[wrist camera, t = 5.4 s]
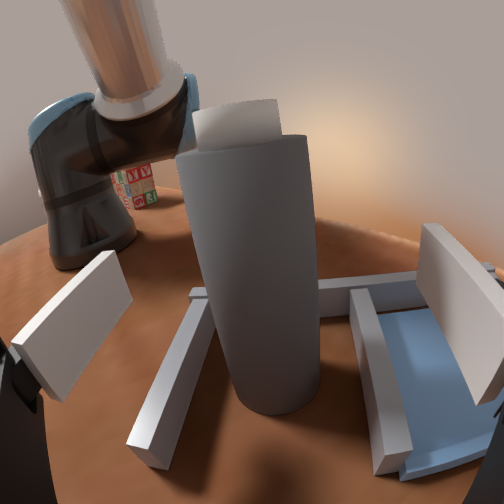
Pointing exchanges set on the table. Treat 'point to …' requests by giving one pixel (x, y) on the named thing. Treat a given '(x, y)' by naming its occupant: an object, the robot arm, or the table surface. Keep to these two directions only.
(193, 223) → the grey bottle
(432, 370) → the grey frame
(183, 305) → the table surface
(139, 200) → the stack of blocks
